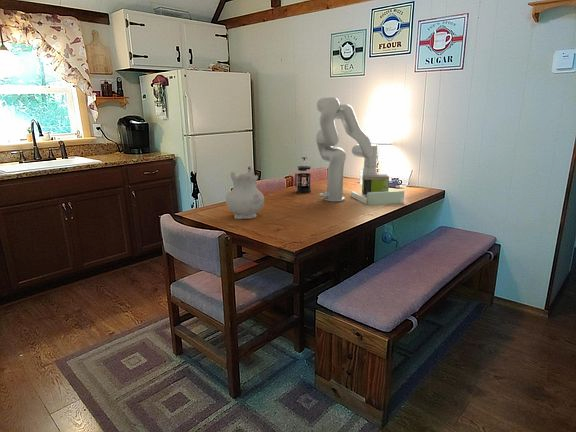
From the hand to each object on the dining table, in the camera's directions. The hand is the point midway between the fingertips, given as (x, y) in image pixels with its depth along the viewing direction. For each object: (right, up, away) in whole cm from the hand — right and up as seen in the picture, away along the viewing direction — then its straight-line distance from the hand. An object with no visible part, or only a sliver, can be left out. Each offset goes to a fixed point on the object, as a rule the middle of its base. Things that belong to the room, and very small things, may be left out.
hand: (368, 193), depth 245 cm
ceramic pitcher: (-73, -15, -45) cm, 87 cm away
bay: (+3, -5, -10) cm, 11 cm away
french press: (-41, +1, +11) cm, 43 cm away
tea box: (+2, -4, -8) cm, 9 cm away
